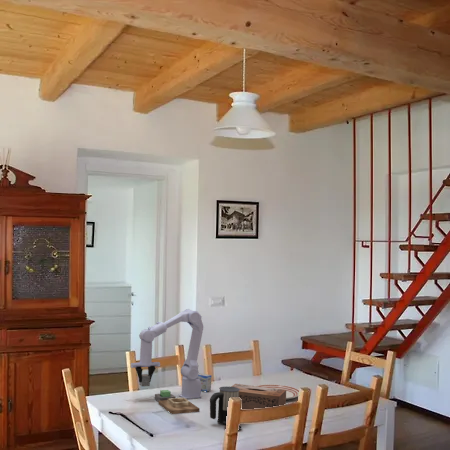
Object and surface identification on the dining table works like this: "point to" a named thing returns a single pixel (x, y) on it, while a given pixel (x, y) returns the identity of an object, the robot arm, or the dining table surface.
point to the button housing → (160, 398)
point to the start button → (165, 393)
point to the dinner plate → (290, 391)
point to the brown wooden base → (178, 405)
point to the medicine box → (205, 382)
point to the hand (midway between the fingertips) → (144, 381)
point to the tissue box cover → (260, 396)
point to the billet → (145, 380)
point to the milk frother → (222, 403)
